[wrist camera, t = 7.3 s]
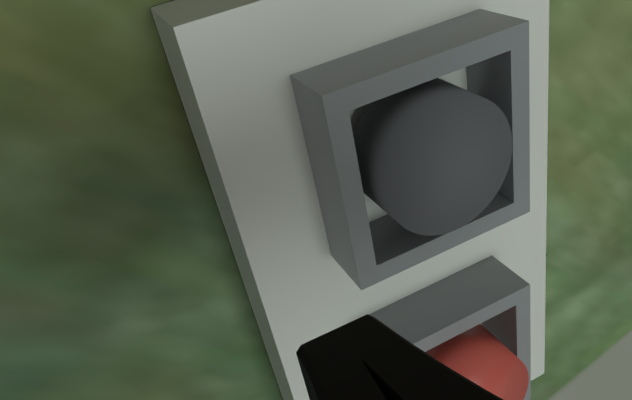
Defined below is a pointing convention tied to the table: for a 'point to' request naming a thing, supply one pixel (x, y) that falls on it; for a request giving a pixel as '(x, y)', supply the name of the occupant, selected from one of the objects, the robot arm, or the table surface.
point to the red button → (484, 362)
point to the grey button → (433, 155)
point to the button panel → (343, 170)
